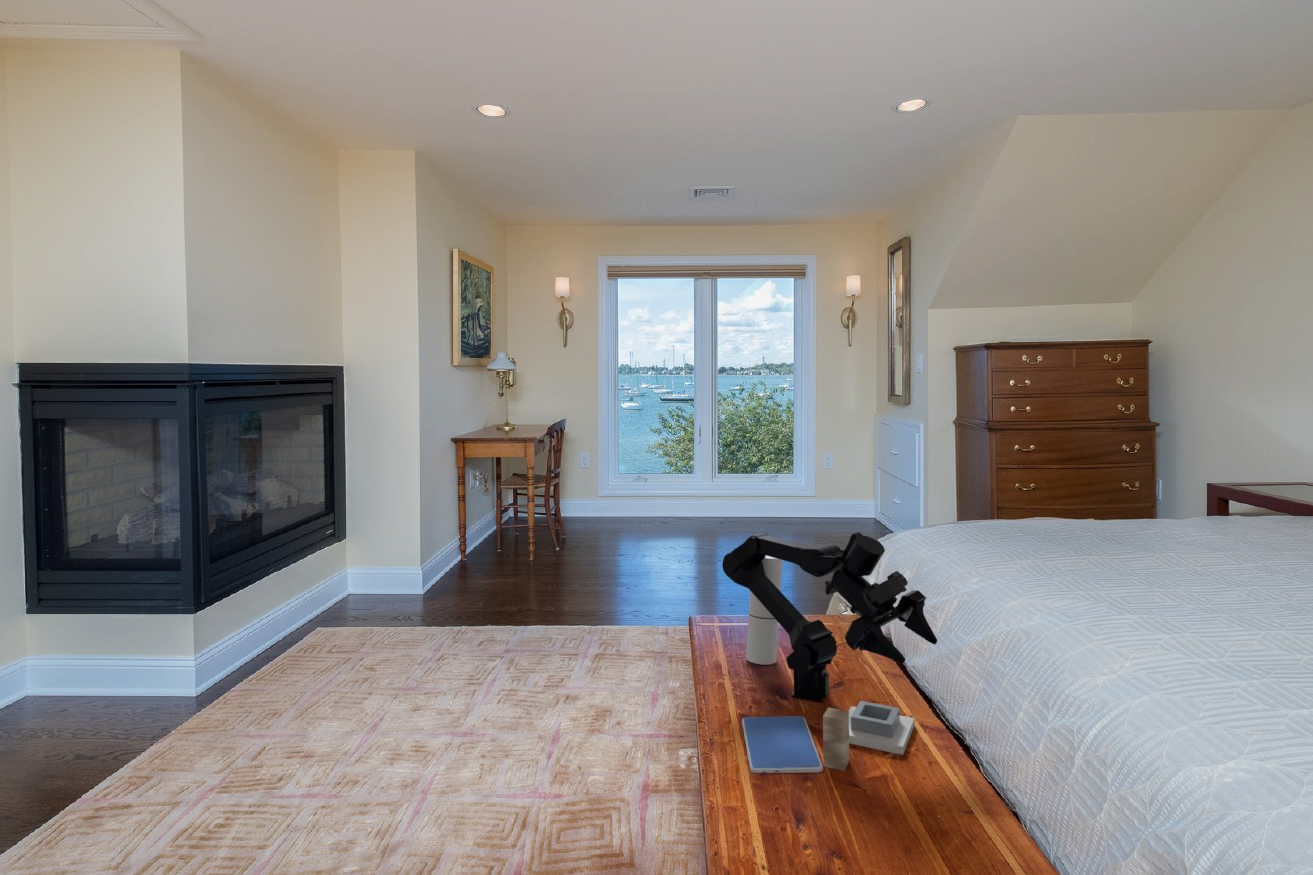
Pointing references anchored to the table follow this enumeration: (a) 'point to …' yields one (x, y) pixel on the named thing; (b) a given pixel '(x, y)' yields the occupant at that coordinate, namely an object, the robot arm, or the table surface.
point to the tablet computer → (780, 745)
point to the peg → (836, 738)
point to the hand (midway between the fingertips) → (920, 651)
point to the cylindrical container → (763, 620)
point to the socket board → (879, 727)
